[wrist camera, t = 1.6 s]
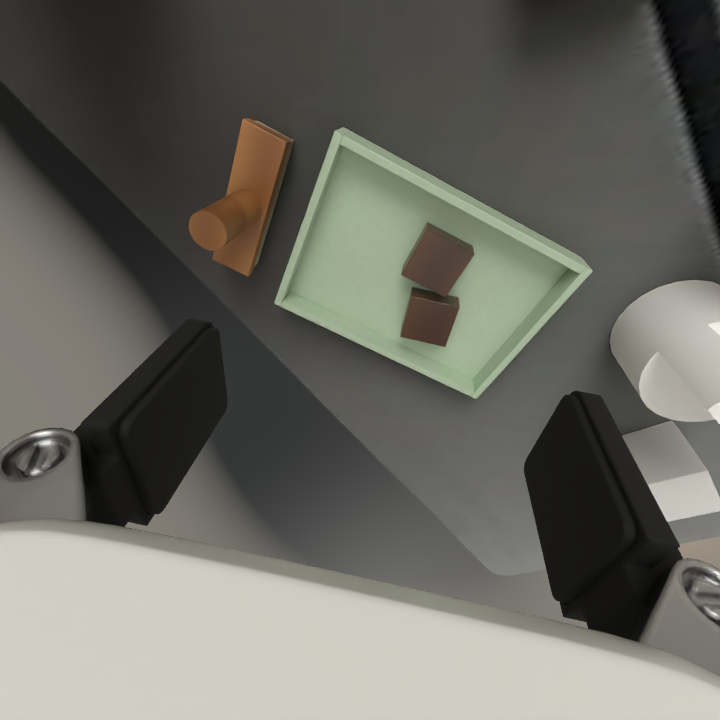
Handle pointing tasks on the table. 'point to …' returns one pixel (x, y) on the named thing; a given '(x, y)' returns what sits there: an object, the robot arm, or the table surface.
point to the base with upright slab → (673, 349)
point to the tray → (391, 249)
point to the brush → (245, 199)
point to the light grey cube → (673, 471)
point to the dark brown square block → (437, 260)
